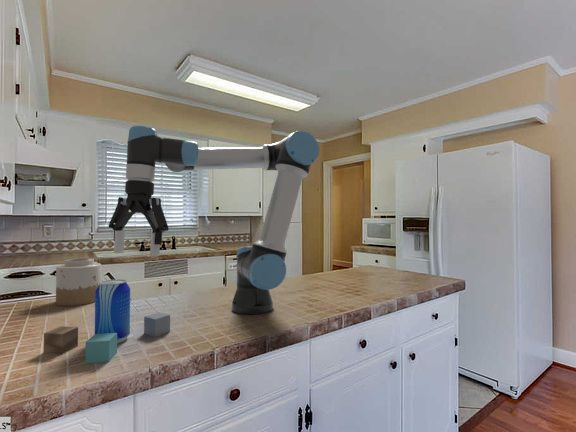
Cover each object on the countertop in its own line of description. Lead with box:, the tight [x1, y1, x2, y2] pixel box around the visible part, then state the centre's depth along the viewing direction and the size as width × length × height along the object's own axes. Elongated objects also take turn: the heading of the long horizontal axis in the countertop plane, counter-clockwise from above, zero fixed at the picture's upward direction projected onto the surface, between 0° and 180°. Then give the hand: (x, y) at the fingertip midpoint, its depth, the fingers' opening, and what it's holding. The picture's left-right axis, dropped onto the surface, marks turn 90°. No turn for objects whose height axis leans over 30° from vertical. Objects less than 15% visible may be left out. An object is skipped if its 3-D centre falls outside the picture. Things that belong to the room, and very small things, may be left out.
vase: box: [55, 257, 103, 307], centre depth 127 cm, size 15×15×17 cm
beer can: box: [94, 278, 131, 345], centre depth 86 cm, size 8×8×16 cm
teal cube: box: [85, 333, 118, 364], centre depth 75 cm, size 5×5×5 cm
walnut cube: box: [43, 325, 79, 355], centre depth 80 cm, size 5×5×5 cm
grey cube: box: [143, 311, 171, 338], centre depth 92 cm, size 5×5×5 cm
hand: (136, 254), depth 91 cm, fingers open, 13 cm apart
